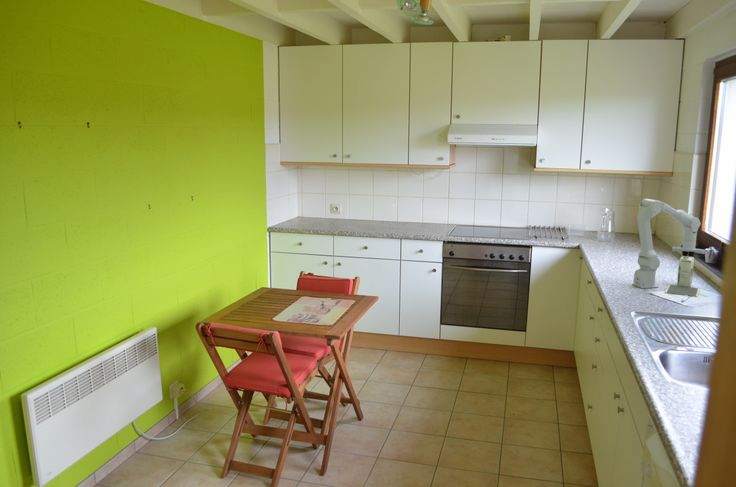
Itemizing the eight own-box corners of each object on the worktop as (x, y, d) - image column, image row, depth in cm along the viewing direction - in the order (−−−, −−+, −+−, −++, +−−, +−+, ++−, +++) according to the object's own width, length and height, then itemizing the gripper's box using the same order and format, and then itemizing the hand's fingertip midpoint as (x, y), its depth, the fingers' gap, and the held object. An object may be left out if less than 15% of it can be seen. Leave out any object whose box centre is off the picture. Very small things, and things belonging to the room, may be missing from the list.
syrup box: (679, 281, 303) (681, 255, 299) (692, 283, 299) (694, 256, 295) (676, 285, 299) (678, 258, 295) (689, 287, 295) (691, 260, 291)
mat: (697, 297, 278) (697, 296, 278) (664, 292, 285) (664, 292, 285) (699, 288, 293) (699, 288, 293) (668, 285, 300) (668, 284, 300)
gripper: (706, 240, 298) (703, 266, 300) (674, 237, 305) (671, 263, 308) (705, 242, 292) (702, 268, 294) (673, 239, 299) (670, 265, 302)
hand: (686, 266), depth 301 cm, fingers closed
